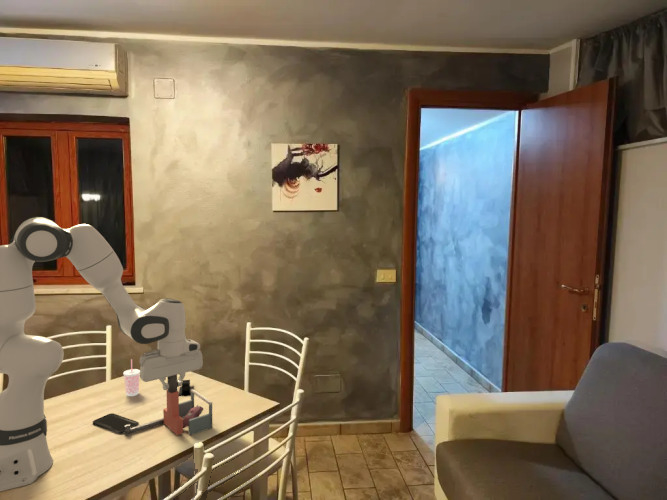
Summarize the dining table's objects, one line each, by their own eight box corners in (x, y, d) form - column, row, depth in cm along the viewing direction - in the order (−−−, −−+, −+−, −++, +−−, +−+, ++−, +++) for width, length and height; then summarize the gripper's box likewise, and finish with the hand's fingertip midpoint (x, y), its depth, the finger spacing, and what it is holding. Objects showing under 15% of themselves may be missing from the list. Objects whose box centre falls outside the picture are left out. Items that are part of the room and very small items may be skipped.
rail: (125, 435, 149) (125, 426, 149) (124, 434, 150) (124, 425, 150) (167, 422, 159) (167, 414, 158) (166, 421, 159) (166, 413, 159)
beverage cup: (120, 394, 181) (119, 359, 179) (135, 389, 186) (134, 355, 184) (129, 398, 177) (128, 363, 176) (143, 393, 182) (143, 359, 181)
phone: (111, 412, 163) (140, 422, 156) (111, 415, 164) (140, 425, 157) (90, 421, 156) (119, 432, 150) (90, 424, 157) (120, 435, 150)
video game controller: (185, 435, 153) (194, 418, 152) (174, 428, 153) (182, 411, 152) (199, 421, 163) (207, 405, 161) (188, 415, 163) (197, 399, 162)
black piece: (194, 398, 180) (194, 387, 179) (174, 399, 178) (174, 388, 178) (196, 385, 192) (196, 375, 191) (177, 387, 190) (177, 376, 190)
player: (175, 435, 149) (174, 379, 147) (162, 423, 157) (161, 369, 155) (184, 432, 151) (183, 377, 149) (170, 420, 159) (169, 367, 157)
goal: (190, 435, 150) (189, 409, 149) (171, 419, 161) (171, 394, 160) (212, 427, 156) (212, 402, 155) (193, 412, 166) (192, 388, 165)
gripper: (143, 356, 142) (144, 399, 143) (204, 343, 155) (205, 382, 157) (136, 351, 146) (137, 392, 148) (196, 339, 160) (196, 377, 161)
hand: (172, 387), depth 152 cm, fingers closed on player, 3 cm apart
